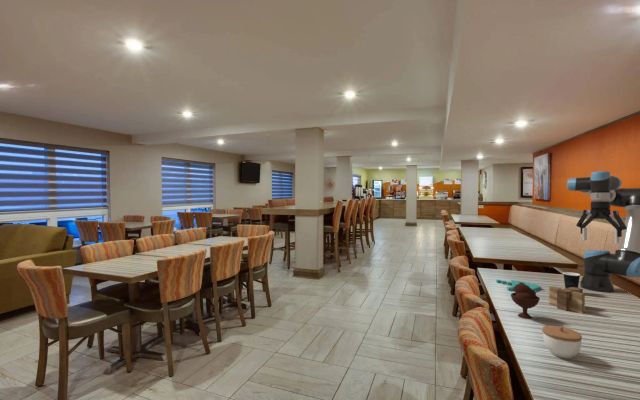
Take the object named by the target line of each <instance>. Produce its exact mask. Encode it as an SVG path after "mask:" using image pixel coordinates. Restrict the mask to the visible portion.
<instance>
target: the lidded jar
mask: <svg viewBox="0 0 640 400" xmlns="http://www.w3.org/2000/svg"><path fill="white" fill-rule="evenodd" d="M541 329H542V339H543V343H544V345H545V347H546V348H547V349H548V350H549V351H550V354H552V355H554V356H556V357H558V358H562V359H567V360H568V359H573V357H575V356H577V355H578V354H579V352H580V351H581V348H582V339H583V336H582V335H581V334H580V332H578V331H576V330H574V329H571V328H569V327H568V328H567V327H564V326H561V325H560V326H557V325H545V326H542V328H541Z"/></svg>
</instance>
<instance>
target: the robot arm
mask: <svg viewBox="0 0 640 400" xmlns="http://www.w3.org/2000/svg"><path fill="white" fill-rule="evenodd" d="M622 184H623V183H622V179H621V178H619V176H614V175H611V172H610V171H608V170H604V171H603V170H601V171H592V172H591V173H590V176H586V177H584V176H583V177H569V178H568V180H567V181H566V188H567V190H568V191H571V192H581V193H583V194H586V195H587V196H590V210H589V209H584V210H583V211H582V215H581V217H580V218H579V220H578V221H577V223H576V227H578V228H580V234H582V236H581V237H582V238H581V239H582V241H588V228H587V226H588V225H589V224H590V223H591V222H593V221H594V220H595V219H596V220H598V219H599V220H606V221H607V222H608V223H609V224H610V225H611V226H612V227H613V228H614V229H615V230H614V244H617V245H618V244H620V245H619V246H620V247H619V248H617V249H615V251H614V253H611V252H610V250H604V249H603V250H602V249H593V250H592V249H591V250H585V251H584V253H583V275H582V278H581V280H580V281H579V287H580V288H581V289H585V290H590V291H594V292H604V293H613V292H614V289H615V286H614V285H613V283H612V279H611V277H610V276H611V274H612V275H617V276H624V277H628V278H635V279H636V278H637V279H639V278H640V187H631V188H630V187H627V188H624V187H623V188H622V187H621V186H622ZM611 207H617V208H624V210H625V211H626V217H625V221H623V220H622V218H621V216H620V213H619V212H620V211H618V210H612V211H611ZM589 215H590V216H589ZM610 215H612V216H613V217H614V219H615V220H616V221H615V220H614V219H613V218H612V217H611V216H610ZM588 216H589V217H588ZM587 217H588V218H587ZM620 238H621V241H620Z"/></svg>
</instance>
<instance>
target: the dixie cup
mask: <svg viewBox="0 0 640 400" xmlns="http://www.w3.org/2000/svg"><path fill="white" fill-rule="evenodd" d="M562 274H563V281H564V289H565V288H570V287H577V288H579V286H580V278H581V277H580V276H581V274H580V273H578V272H572V271H571V272H570V271H565V272H564V271H563V272H562Z"/></svg>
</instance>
